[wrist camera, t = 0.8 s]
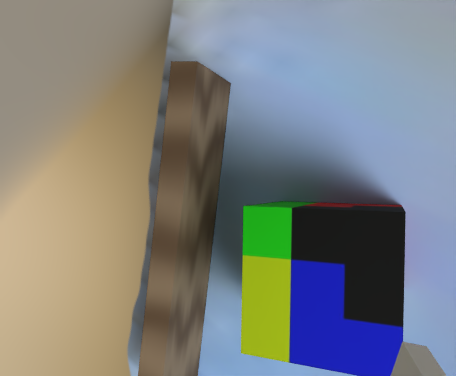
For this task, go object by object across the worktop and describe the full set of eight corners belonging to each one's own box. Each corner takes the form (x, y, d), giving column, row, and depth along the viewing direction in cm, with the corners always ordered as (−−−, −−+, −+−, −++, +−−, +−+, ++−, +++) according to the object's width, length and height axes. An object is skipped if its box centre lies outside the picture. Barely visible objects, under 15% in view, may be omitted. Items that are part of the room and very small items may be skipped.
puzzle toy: (398, 327, 32) (402, 383, 23) (279, 310, 36) (240, 353, 27) (401, 205, 32) (405, 212, 23) (281, 201, 36) (243, 206, 27)
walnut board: (208, 82, 38) (171, 61, 32) (230, 83, 38) (197, 61, 31) (175, 379, 40) (133, 415, 33) (196, 386, 39) (157, 425, 33)
